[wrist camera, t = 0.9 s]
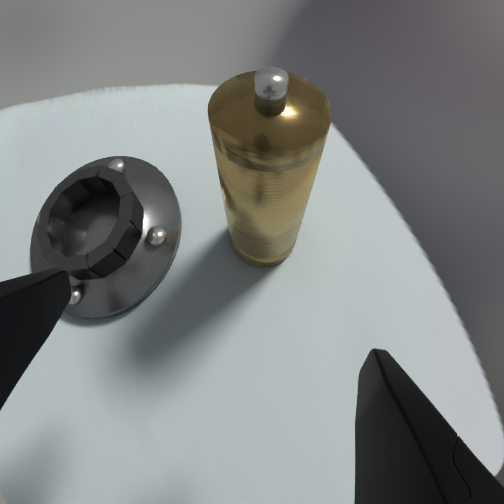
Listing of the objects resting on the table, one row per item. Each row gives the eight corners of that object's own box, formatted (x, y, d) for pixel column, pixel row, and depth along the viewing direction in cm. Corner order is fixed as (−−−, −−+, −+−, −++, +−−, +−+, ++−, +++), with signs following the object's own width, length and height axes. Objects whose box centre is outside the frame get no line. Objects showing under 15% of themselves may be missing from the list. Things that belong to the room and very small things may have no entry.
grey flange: (216, 251, 23) (209, 232, 20) (69, 351, 20) (44, 347, 17) (138, 138, 27) (126, 113, 24) (23, 220, 24) (2, 204, 21)
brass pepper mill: (308, 242, 23) (366, 92, 10) (255, 279, 22) (256, 146, 9) (269, 196, 25) (281, 33, 11) (218, 229, 24) (179, 71, 10)
